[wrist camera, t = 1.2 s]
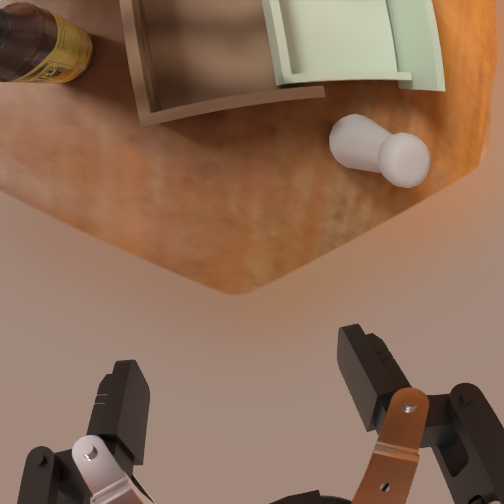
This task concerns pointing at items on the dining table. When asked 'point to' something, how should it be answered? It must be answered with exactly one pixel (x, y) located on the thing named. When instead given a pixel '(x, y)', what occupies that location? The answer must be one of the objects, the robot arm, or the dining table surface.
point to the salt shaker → (379, 151)
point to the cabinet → (200, 58)
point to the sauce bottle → (41, 46)
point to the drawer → (355, 41)
